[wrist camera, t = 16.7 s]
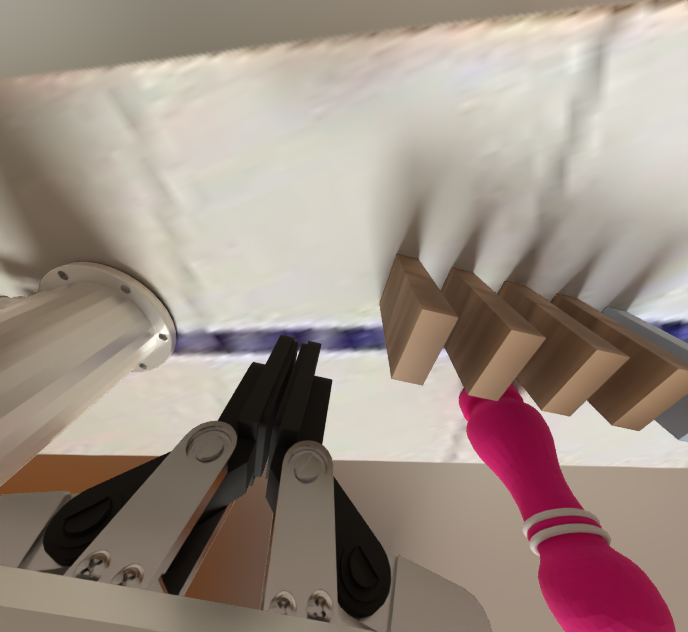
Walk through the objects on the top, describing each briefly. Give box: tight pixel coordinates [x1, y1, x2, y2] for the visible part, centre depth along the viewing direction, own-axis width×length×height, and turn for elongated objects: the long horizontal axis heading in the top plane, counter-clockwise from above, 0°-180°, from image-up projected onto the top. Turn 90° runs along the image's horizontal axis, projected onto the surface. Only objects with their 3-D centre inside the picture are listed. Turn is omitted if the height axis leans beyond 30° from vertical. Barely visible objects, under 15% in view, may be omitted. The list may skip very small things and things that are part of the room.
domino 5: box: [602, 307, 688, 442], centre depth 20 cm, size 2×5×10 cm, turn 167°
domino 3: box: [497, 281, 630, 416], centre depth 19 cm, size 2×5×10 cm, turn 167°
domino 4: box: [550, 294, 688, 431], centre depth 20 cm, size 2×5×10 cm, turn 167°
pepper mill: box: [459, 384, 676, 632], centre depth 21 cm, size 7×7×20 cm
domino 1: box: [380, 254, 459, 385], centre depth 19 cm, size 2×5×10 cm, turn 167°
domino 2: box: [441, 268, 546, 401], centre depth 19 cm, size 2×5×10 cm, turn 167°
